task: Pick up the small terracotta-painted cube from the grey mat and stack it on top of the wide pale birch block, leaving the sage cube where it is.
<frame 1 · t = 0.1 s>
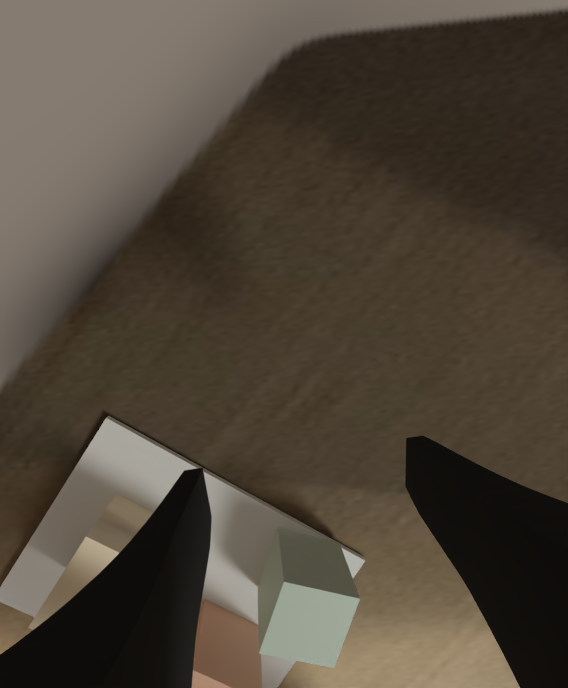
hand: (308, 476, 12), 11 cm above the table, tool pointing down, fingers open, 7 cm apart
birch base block: (134, 552, 22), resting on mat
sage block: (298, 564, 23), resting on mat
terracotta block: (215, 638, 23), resting on mat
mat: (188, 574, 23), on the table
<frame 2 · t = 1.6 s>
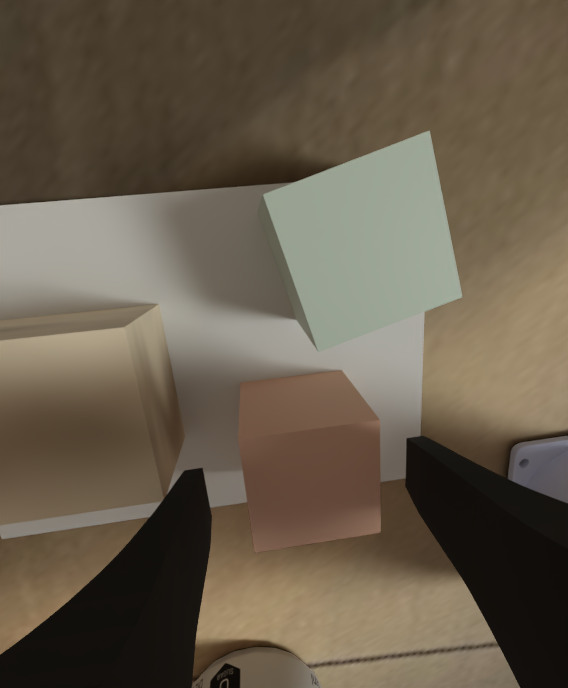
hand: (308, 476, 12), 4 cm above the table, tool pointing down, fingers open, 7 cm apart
birch base block: (99, 383, 14), resting on mat
sage block: (330, 248, 14), resting on mat
terracotta block: (295, 421, 16), resting on mat
supplement can: (253, 683, 21), on the table
mat: (198, 368, 15), on the table
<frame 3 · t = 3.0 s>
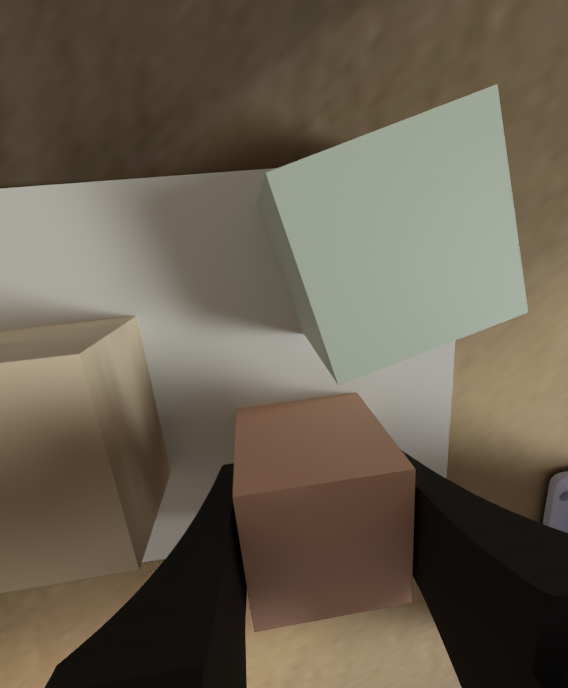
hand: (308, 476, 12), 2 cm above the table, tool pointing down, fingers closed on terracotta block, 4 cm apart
birch base block: (65, 411, 12), resting on mat
sage block: (345, 247, 11), resting on mat
terracotta block: (302, 453, 13), resting on mat, touching gripper
mat: (185, 391, 12), on the table
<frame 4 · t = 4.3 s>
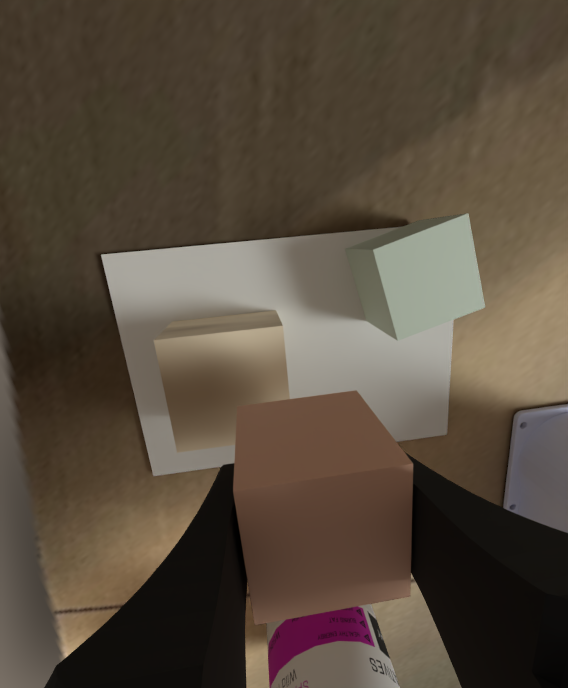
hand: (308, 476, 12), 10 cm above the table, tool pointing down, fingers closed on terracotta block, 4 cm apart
birch base block: (231, 364, 20), resting on mat
sage block: (391, 272, 20), resting on mat
terracotta block: (302, 450, 13), point 9 cm above the table, touching gripper
supplement can: (316, 599, 27), on the table
mat: (296, 354, 21), on the table
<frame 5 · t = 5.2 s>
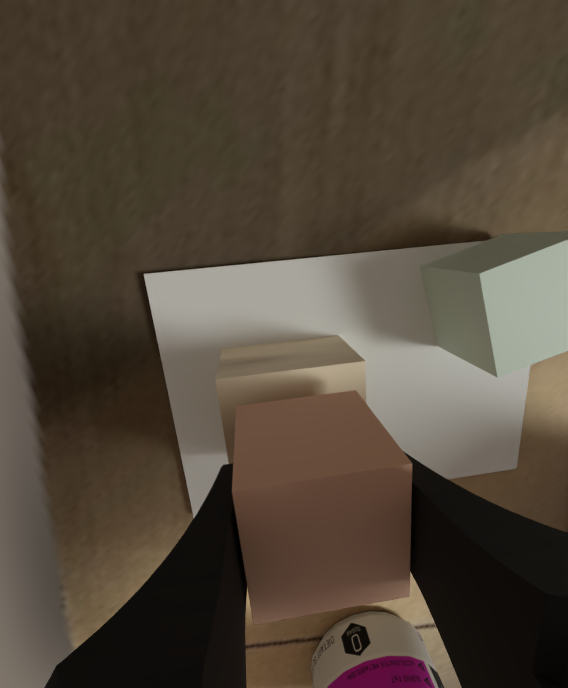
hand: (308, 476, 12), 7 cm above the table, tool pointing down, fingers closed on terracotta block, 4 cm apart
birch base block: (286, 396, 18), resting on mat
sage block: (469, 292, 18), resting on mat
terracotta block: (301, 450, 13), point 5 cm above the table, touching gripper
supplement can: (363, 643, 25), on the table
mat: (356, 383, 19), on the table
when the fingers open (7 cm above the table, at t = 5.9 s): terracotta block drops 1 cm, resting on birch base block.
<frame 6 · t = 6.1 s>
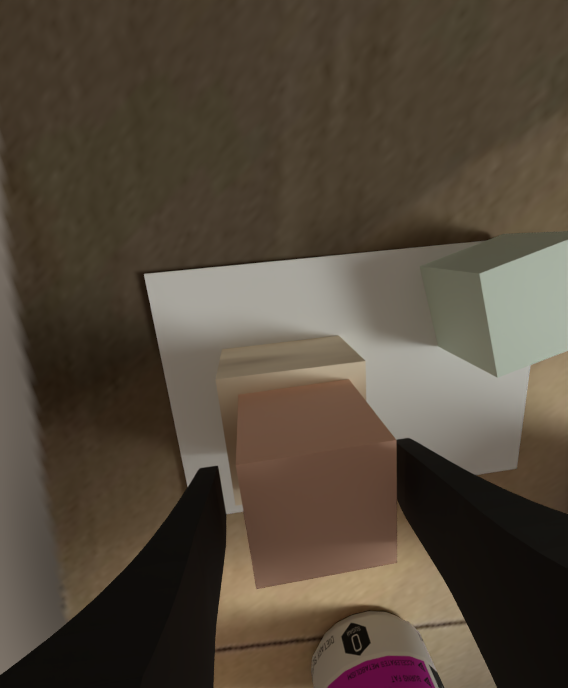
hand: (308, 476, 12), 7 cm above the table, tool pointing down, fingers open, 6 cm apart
birch base block: (286, 396, 18), resting on mat, touching terracotta block
sage block: (469, 292, 18), resting on mat
terracotta block: (299, 435, 14), point 4 cm above the table, touching birch base block
supplement can: (363, 643, 25), on the table
mat: (356, 383, 19), on the table
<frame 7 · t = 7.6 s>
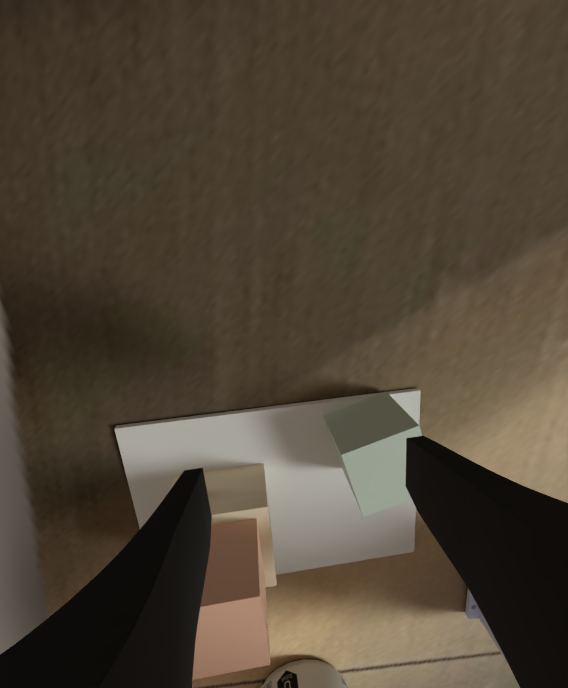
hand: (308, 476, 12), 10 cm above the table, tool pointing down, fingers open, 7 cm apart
birch base block: (225, 506, 24), resting on mat, touching terracotta block
sage block: (363, 430, 23), resting on mat
terracotta block: (222, 555, 20), point 4 cm above the table, touching birch base block
supplement can: (300, 683, 31), on the table
mat: (281, 493, 24), on the table
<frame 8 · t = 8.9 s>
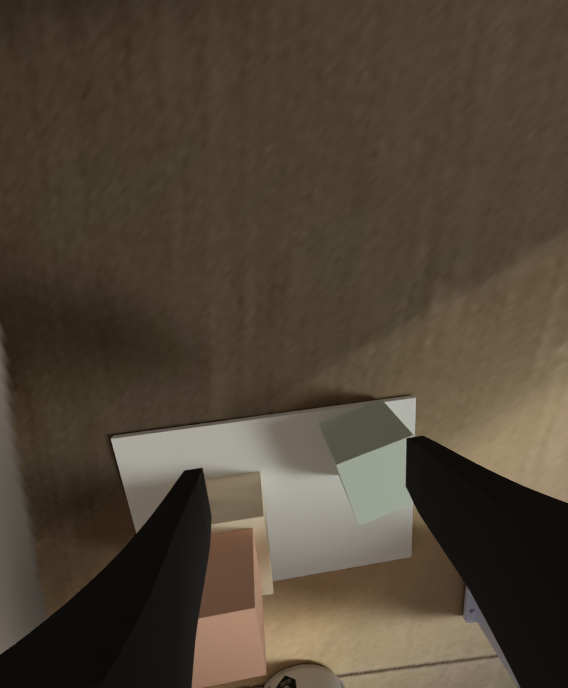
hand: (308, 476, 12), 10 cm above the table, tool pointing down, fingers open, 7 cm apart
birch base block: (222, 513, 24), resting on mat, touching terracotta block
sage block: (359, 438, 23), resting on mat
terracotta block: (219, 564, 20), point 4 cm above the table, touching birch base block
mat: (278, 500, 24), on the table
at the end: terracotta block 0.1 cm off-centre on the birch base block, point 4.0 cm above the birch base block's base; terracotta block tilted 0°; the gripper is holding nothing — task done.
